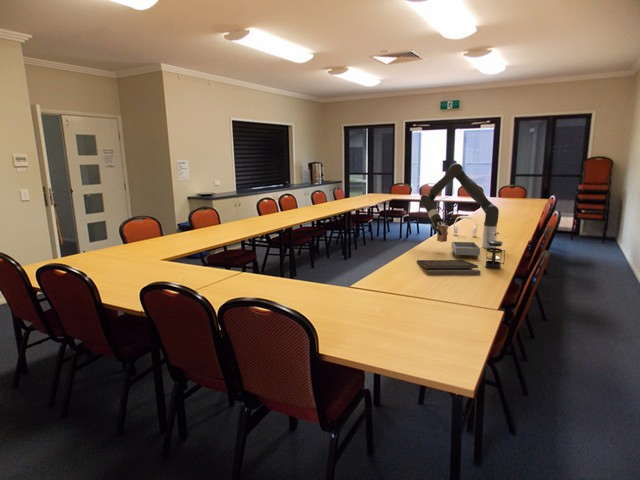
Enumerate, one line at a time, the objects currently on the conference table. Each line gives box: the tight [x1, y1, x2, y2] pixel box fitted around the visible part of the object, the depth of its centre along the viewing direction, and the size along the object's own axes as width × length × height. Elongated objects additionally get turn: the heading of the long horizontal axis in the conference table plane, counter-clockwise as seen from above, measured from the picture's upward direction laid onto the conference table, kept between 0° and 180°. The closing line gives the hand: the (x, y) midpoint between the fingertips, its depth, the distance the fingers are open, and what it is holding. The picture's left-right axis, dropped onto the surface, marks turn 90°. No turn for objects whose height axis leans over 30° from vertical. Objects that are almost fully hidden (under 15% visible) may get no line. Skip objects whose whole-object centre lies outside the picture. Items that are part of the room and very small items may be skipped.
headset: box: [453, 215, 478, 237], centre depth 362 cm, size 20×7×18 cm, turn 64°
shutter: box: [416, 259, 481, 276], centre depth 263 cm, size 32×7×31 cm
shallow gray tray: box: [451, 241, 481, 260], centre depth 293 cm, size 16×20×8 cm
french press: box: [484, 231, 506, 270], centre depth 261 cm, size 12×9×23 cm
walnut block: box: [436, 224, 449, 243], centre depth 305 cm, size 5×5×12 cm
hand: (443, 234), depth 303 cm, fingers closed on walnut block, 5 cm apart
